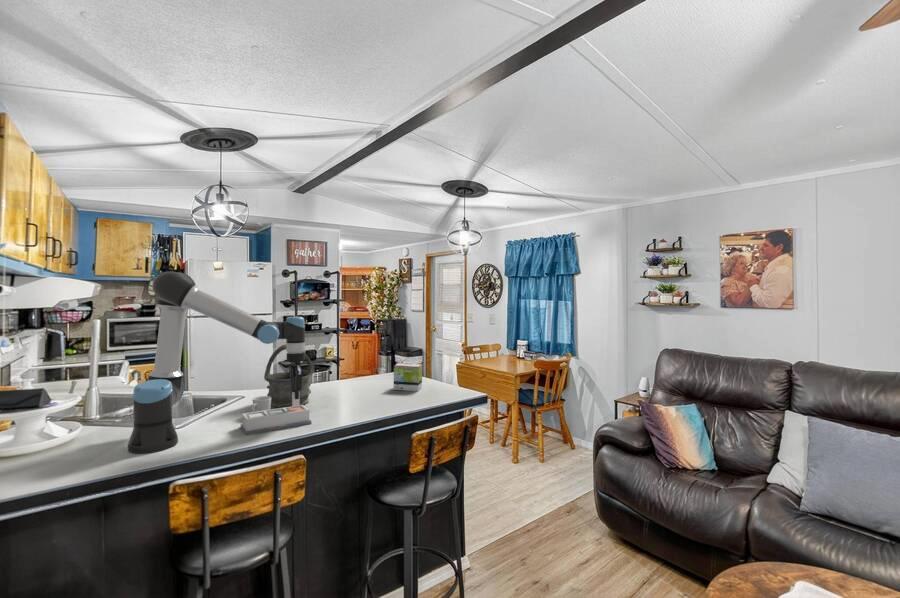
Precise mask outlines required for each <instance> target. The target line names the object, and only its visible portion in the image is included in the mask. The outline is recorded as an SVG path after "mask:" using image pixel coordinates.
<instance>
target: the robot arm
mask: <svg viewBox="0 0 900 598" xmlns="http://www.w3.org/2000/svg"><path fill="white" fill-rule="evenodd" d="M151 286H152V291H153V293H154V295H155V296H156V297H157V302H156V303H157V304H156V305H157V306H158V307H159V308H160V316H159V323H158V324H159V325H158V333H157V342H156V351H155V357H154V358H155V359H154V365H153V366H154V367H153V370H152V371H150V372H149V373H148V377H147V380H146V381H142V382H140V383H138V384H136V385H135V386H134V389H133V393H132V398H133V399H132V400H133V429H132V432H131V434H130V437H129V440H128V443H127V451H128V453H132V454H148V453H156V452H160V451H164V450H167V449H169V448H172V447H174V446H176V445H178V443H179V438H178V437H179V436H178V434H177V431H176V429H175V426H174V423H173V406H174V405H176V404H177V403H178V402H179V401H180V400H181V399H182V397H183V396H184V395H183V394H184V392H185V385H184V382H183V380H184V373H183V371H181V361H182V352H183V344H184V335H185V329H186V327H185V326H186V319H187V312H188V311H189V310H193V311H195V312H197V313H199V314H202V315H203V316H205V317H209V318H211V319H212V320H215V321H217V322H219V323H222V324H224V325H225V326H228V327H230V328H233V329H235V330H237V331H239V332H241V333H244V334H247V335H248V336H251V337H252V338H255V339H257V340H259V341H260V342H261V343H262V344H265V345H270V344H273V343H275V342H277V341H278V340H286V344H285V345H286V349H285V350H286V351H285V352H286V362H288V363H290V365H289V367H288V370H289V372H290V383H291V389H292V406H293V407H296V406H300V391H301V385H302V374H303V371H304V370H303V366H302V364H301V362H305V361H306V360H305V354H306V353H305V350H306V349H305V347H306V346H307V344H306V343H305V340H306V339H305V338H306V337H305V335H306V334H305V333H306V327H305V318H304V317H303V316H287V317H286V320H285V321H267V320H264V319H262V318H260V317H257V316H255V315H253V314H251V313H249V312H247V311H244V310H243V309H240V308H238V307H236V306H235V305H232V304H230V303H227V302H226V301H224V300H221V299H219V298H217V297H215V296H213V295H210V294H208V293H207V292H204V291H202V290H201V289H199V288H198V286H197V285H196V282H195V280H194V279H193V278H192V277H191V276H190V275H189V274H187V273H184V272H176V271H165V272H162V273H160V274H158V275H157V276H156V277H155V278H154V280H153V281H152V285H151Z"/></svg>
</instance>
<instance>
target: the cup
mask: <svg viewBox="0 0 900 598" xmlns="http://www.w3.org/2000/svg"><path fill="white" fill-rule="evenodd" d="M271 407H272V406H271V397H269V396H267V395H264V396H263V395H262V396H256V397H253V398H252V405H251V408H250V409H251V412H258V411H264V410H271Z"/></svg>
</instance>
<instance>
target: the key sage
mask: <svg viewBox="0 0 900 598" xmlns="http://www.w3.org/2000/svg"><path fill="white" fill-rule="evenodd" d="M281 413H284V412H283V411H282V410H279V411H272V412H269V415H274V414H281Z"/></svg>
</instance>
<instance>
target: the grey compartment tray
mask: <svg viewBox="0 0 900 598" xmlns="http://www.w3.org/2000/svg"><path fill="white" fill-rule="evenodd" d="M299 407H300V408H301V409H303V410H300V411H294V412H289V411H288V409H292V408H299ZM279 410H282V411H283V412H284V413H281V414H274V415H269V412H272V411H279ZM258 413H262V414H263V415H264V416H261V417H255V418H248V415H252V414H258ZM241 415H242V416H241V417H242V418H241V422H242V423H240V425H239V426H240V429H241V430H242V431H243V434H244V435H245V436H247V435H249V436H250V435H254V434H261V433H266V432H271V431H278V430H284V429H289V428H295V427H301V426H307V425H312V420H311V419H310V409H309V408H308V407H307V406H305V404H304V405H300V406H296V407H293V406H292V407H285V408H278V407H277V408H272V409H271V408H270V410H264V411H258V412H252V411H251V412H245V413H241Z"/></svg>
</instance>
